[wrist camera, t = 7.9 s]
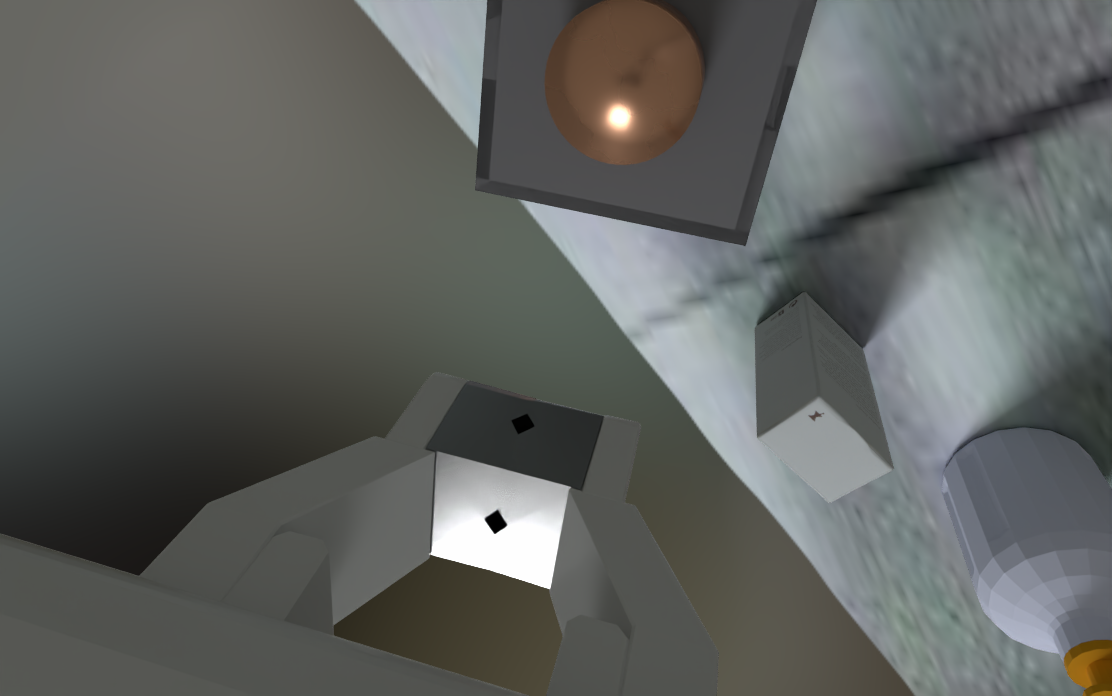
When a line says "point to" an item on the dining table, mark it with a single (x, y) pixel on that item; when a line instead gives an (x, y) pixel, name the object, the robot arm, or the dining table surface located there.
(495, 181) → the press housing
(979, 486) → the soap bottle
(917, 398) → the dining table surface
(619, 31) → the plunger
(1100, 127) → the dining table surface
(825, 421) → the skincare box
